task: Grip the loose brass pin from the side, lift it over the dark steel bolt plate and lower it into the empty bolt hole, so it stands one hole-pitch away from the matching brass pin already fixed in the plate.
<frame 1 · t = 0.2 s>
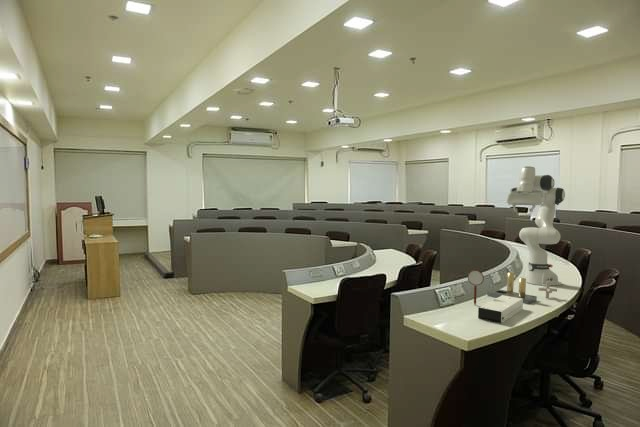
hand: (522, 211, 258), 52 cm above the table, tool tilted 20°, fingers open, 8 cm apart
magnifying glass: (474, 305, 231), on the table
pipe connector: (547, 298, 248), on the table
bolt plate: (511, 298, 247), on the table
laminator: (502, 314, 215), on the table
brass pin: (510, 293, 259), on the table
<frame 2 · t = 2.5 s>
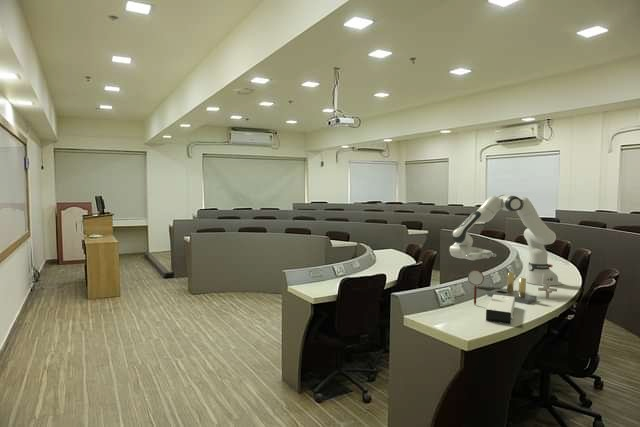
hand: (492, 256, 267), 22 cm above the table, tool horizontal, fingers open, 8 cm apart
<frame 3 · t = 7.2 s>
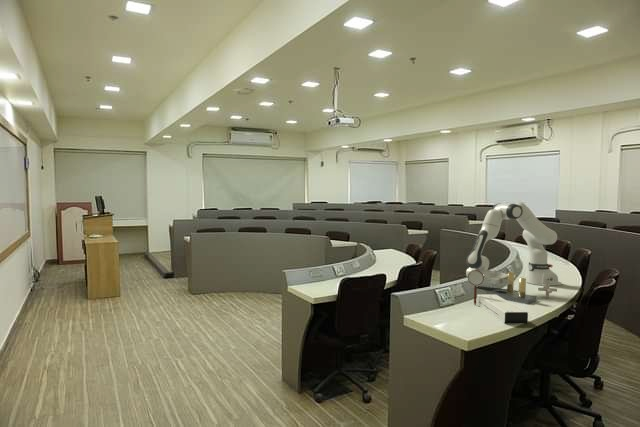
hand: (511, 281, 258), 8 cm above the table, tool horizontal, fingers closed on brass pin, 4 cm apart
brass pin: (510, 293, 259), on the table, touching gripper
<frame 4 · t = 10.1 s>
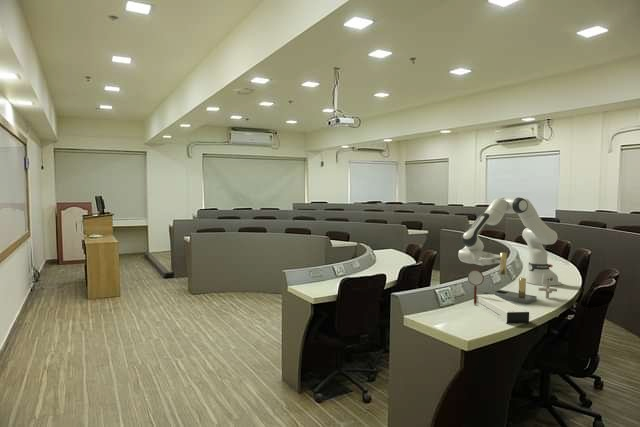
hand: (504, 261, 250), 21 cm above the table, tool horizontal, fingers closed on brass pin, 4 cm apart
brass pin: (502, 274, 251), point 14 cm above the table, touching gripper
when the fingers open (9 cm above the table, at t = 13.4 s): brass pin drops 1 cm, resting in bolt plate.
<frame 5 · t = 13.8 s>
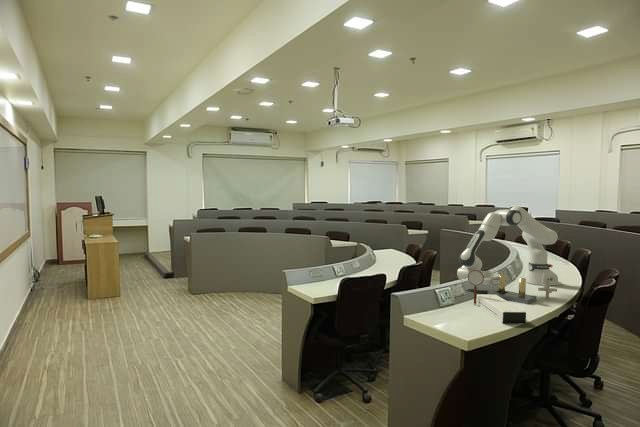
hand: (503, 281, 250), 9 cm above the table, tool horizontal, fingers open, 7 cm apart
brass pin: (501, 296, 251), resting in bolt plate
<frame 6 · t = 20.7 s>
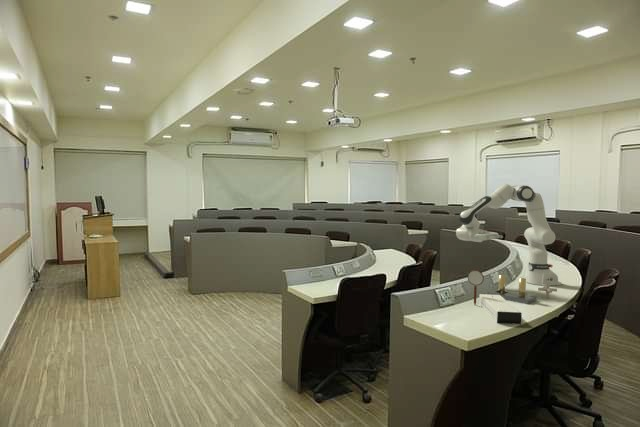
hand: (498, 237, 269), 34 cm above the table, tool horizontal, fingers open, 8 cm apart
at the end: brass pin 0.0 cm from the target spot, resting in bolt plate; brass pin tilted 0°; the gripper is holding nothing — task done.
